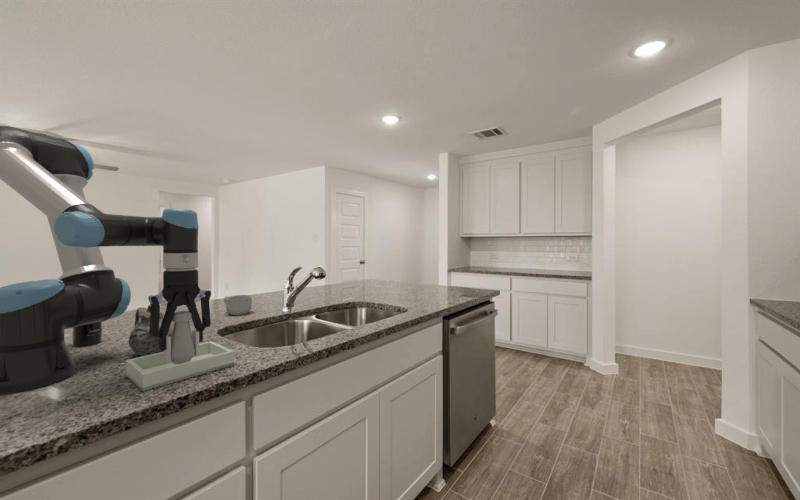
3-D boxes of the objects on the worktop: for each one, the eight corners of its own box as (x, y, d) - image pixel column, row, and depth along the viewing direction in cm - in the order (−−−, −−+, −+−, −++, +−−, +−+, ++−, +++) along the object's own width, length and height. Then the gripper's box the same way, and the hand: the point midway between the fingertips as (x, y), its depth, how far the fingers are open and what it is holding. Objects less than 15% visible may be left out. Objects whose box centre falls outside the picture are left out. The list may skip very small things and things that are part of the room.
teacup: (256, 313, 151) (256, 296, 151) (234, 318, 142) (234, 299, 142) (239, 309, 159) (238, 293, 158) (216, 313, 150) (216, 296, 149)
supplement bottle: (96, 345, 104) (95, 308, 104) (68, 348, 102) (67, 309, 101) (106, 339, 110) (105, 304, 110) (79, 341, 108) (79, 305, 108)
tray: (143, 391, 73) (142, 374, 73) (125, 375, 82) (125, 360, 82) (234, 365, 89) (233, 351, 89) (211, 353, 98) (211, 341, 97)
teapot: (193, 355, 96) (193, 304, 96) (147, 368, 86) (146, 311, 86) (158, 343, 107) (157, 297, 107) (113, 353, 97) (112, 303, 97)
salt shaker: (162, 365, 82) (162, 314, 82) (178, 357, 88) (178, 309, 88) (185, 365, 82) (185, 314, 82) (200, 357, 88) (199, 309, 88)
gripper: (140, 273, 75) (141, 373, 76) (225, 268, 90) (225, 352, 90) (131, 270, 80) (132, 365, 80) (213, 266, 94) (214, 346, 95)
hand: (181, 358), depth 85 cm, fingers closed on salt shaker, 6 cm apart
